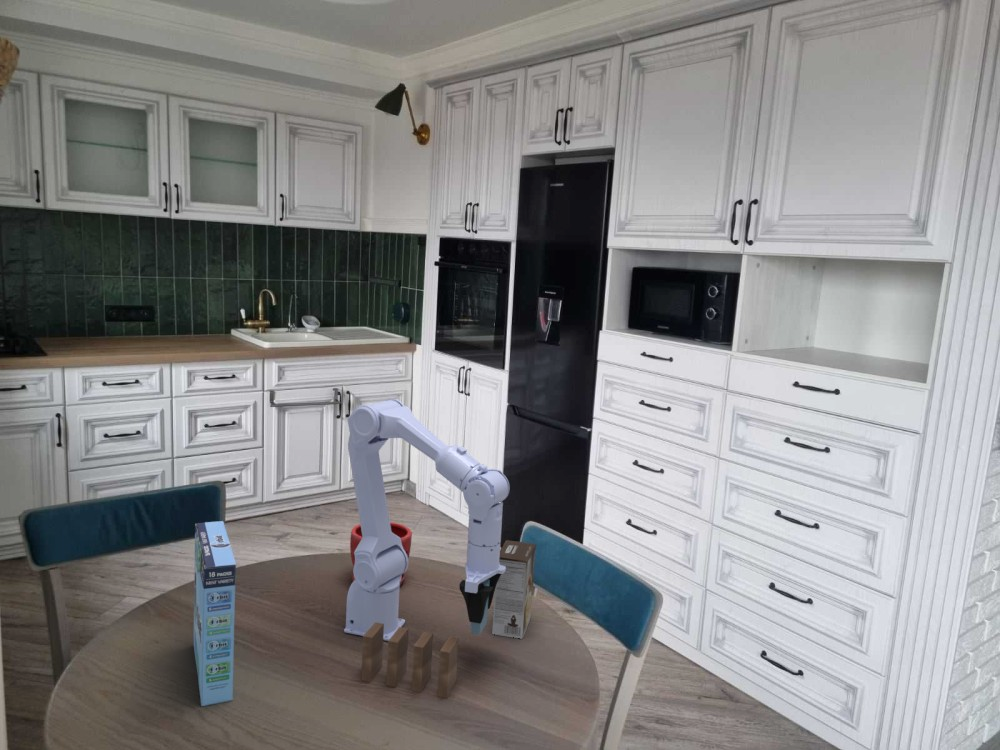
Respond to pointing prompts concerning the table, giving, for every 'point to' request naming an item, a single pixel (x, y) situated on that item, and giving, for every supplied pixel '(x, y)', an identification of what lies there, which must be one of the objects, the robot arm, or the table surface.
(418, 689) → the walnut domino
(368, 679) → the walnut domino
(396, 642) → the walnut domino
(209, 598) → the light blue carton box
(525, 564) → the coffee box
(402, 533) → the plant pot
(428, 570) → the table surface
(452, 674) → the walnut domino
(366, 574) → the robot arm
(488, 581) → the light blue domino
